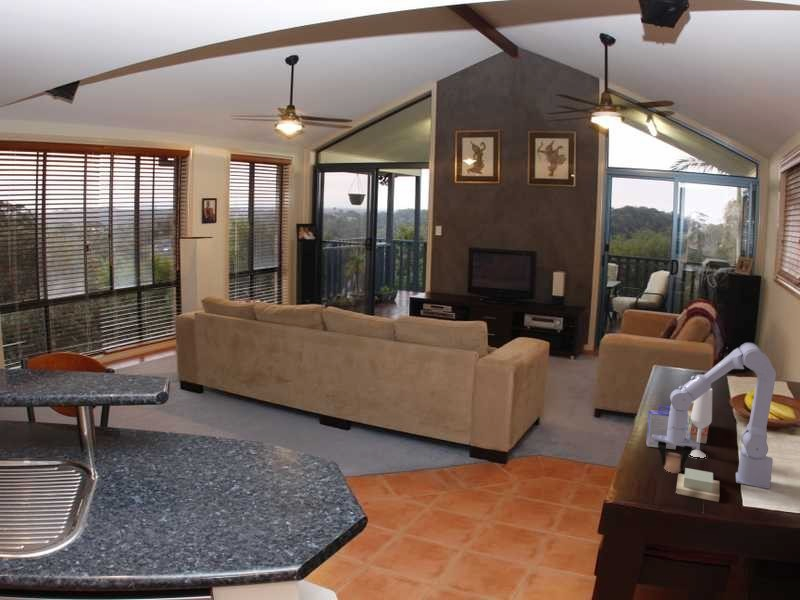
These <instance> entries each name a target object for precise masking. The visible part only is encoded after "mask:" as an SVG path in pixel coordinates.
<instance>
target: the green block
mask: <svg viewBox="0 0 800 600" xmlns="http://www.w3.org/2000/svg"><path fill="white" fill-rule="evenodd" d="M684 474H685V476H684V485H683V487H687V488H692V489H697V490H702V491H707V492H712V487H713V480H714V473H713V472H711V471H706V470H700V469H694V468H688V467H685V468H684Z"/></svg>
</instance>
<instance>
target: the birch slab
mask: <svg viewBox="0 0 800 600" xmlns="http://www.w3.org/2000/svg"><path fill="white" fill-rule="evenodd" d="M684 476H685V473H677V480H676V481H677V482H676V489H675V494H676V493H677V495H682V496H687V497H691V498H695V499H696V498H697V499H701V500H707V501H712V502H716V503H719V502H720V480H715V479H713V487H712V492H707V491H702V490H697V489H692V488H687V487H683V485H684Z"/></svg>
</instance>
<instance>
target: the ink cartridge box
mask: <svg viewBox="0 0 800 600" xmlns="http://www.w3.org/2000/svg"><path fill="white" fill-rule="evenodd" d="M662 408H665V409H662ZM669 411H670V405H664V404H659V405H658V410H654V409H653V410H651V409H649V410H648V418H647V419H648V420H647V432H646V441H645V443H646V447H647V448H648V447H650V448H651V447H652V448H658V442H651V440H652V435H665V436H667V428H668V419H669ZM667 449H669V450H676V449H677V445H671V444H666V450H667Z"/></svg>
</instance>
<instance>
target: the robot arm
mask: <svg viewBox="0 0 800 600" xmlns="http://www.w3.org/2000/svg"><path fill="white" fill-rule="evenodd" d="M744 366H745V367H744ZM745 368H748V369H749V370H751V371H753V372H754V373H755V375H757V377H756V383H755V388H754V393H753V394H754V395H753V400H752V405H751V411H750V416H749V423H748V424H747V425H746V429H745V431H744V432H743V433H742V435H741V438H740V439H741V440H740V441H741V443H742V445H743V447H742V448H741V450H740V453H739V463H738V468H737V469H738V470H737V471H736V472H735V482H736V483H737V484H743V485H747V486H751V487H752V486H753V487H758V488H763V489H770V488H771V482H772V472H773V461H774V460H773V457H772V456H771V457H770V456H767V454H768V453H769V445H768V443H767V442H768V441H767V440H768V431H767V425H768V421H769V416H770V410H771V405H772V400H773V396H774V395H773V393H774V389H775V383H776V378H777V372H776V370H775V369H774V367H773V364H772V363H771V361H770V359H769V357H768V355H766V354H765V352H764V351H763V350H762V349H761V348H760V347H759V346H758V345H757V344H755V343H754V342H744V343H743V344H741V345H740V346H739V347H736V348H735V349H733V350H732V351H731V352H730V353H729V354H727V355H726V356H725V357H724V358H723V359H722V360H720V361H719V362H718V363H717V364H715V365H714V366H713V367H711V369H709V370H708V371H707V372H706V373H704V374H696V375H692V376H691V377H690V380H689V381H687V382H686V383H685V384H683V385H680V386H678V388H676V389H673V391H671V393H670V395H669V400H670V402H671V403H670V405H669V410H670V411H669V419H668V428H667V436H665V435H652V440H651V442H658V447H657V449H658V450H659V454H660V457H661V466H664V465H665V456H666V453H667V452H666V450H667V448H666V444H671V445H676V447H677V446H679V447H683V450H682V462H681V470H683V469H684V465H685V463H686V461H687V459H688V458H689V457H690V456H689V455H690V454H691V452H692V450H695V449H696V450H700V448H701V447H700V446H701V443H700V442H695V441H691V440H688V439H687V438H686V429H687V421H688V409H689V408H690V406H691V403H692V401H695V400H696V399H697V398H699V397H700V396H702V395H703V394H704V393H706V392H707V391H708V390H710V389H711V388H712V383H714V382H715V381H717V380H718V379H720V378H721V377H723V376H724V375H726V374H728V373H730V372H731V371H732V370H745ZM699 447H700V448H699Z"/></svg>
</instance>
